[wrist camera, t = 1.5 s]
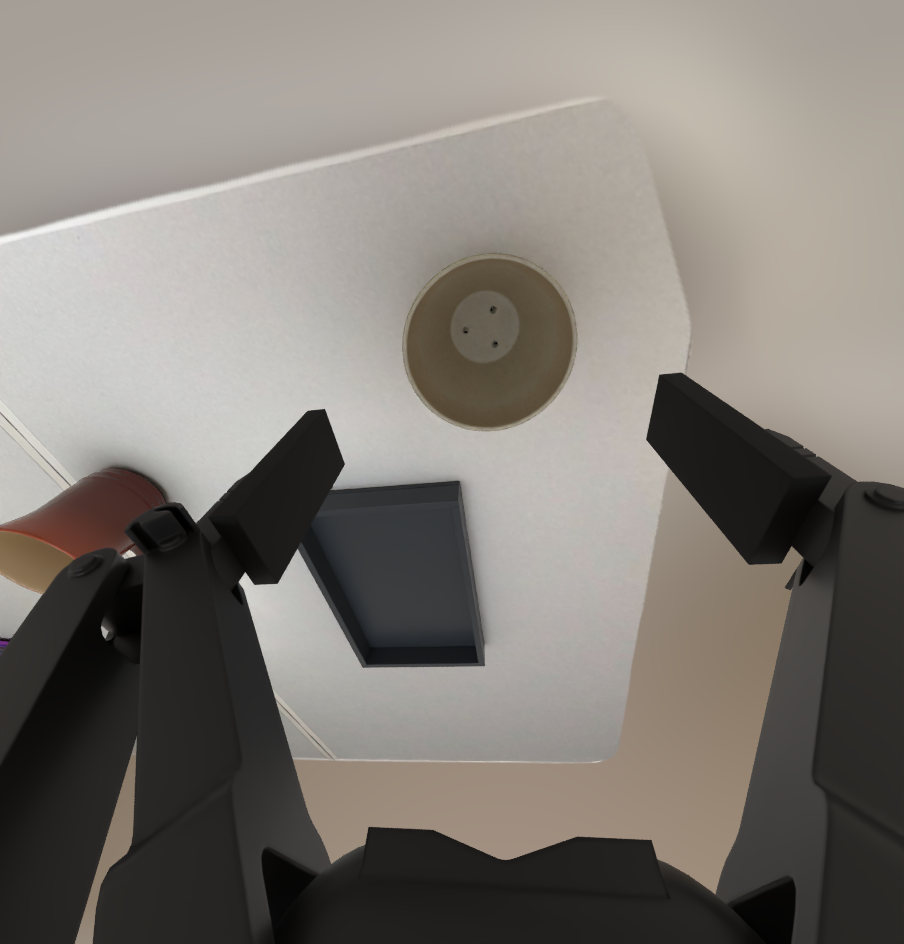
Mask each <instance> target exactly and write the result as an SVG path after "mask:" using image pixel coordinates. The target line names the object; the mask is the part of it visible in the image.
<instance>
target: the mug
mask: <svg viewBox="0 0 904 944" xmlns="http://www.w3.org/2000/svg"><path fill="white" fill-rule="evenodd" d="M164 504H166V502H165V499H164V497H163V495H162V493H161V492H160V490H159V489H158V488H157V487H156V486H155V485H154V484H153V483H152V482H150V481H149V480H148V479H146V478H144V477H143V476H141V475H139V474H136V473H134V472H131V471H127V470H123V469H116V468H109V469H104V470H101V471H99V472H96V473H93V474H91V475H89V476H88V477H85V478H82V479H81V480H79V481H78V482H77V483H76V484H74V485H73V486H71V487H69V488H68V489H66V490H65V491H63V492H62V493H60V494H59V495H57V496H56V497H55V498H53V499H52V500H50V501H49V502H48V503H46V504H45V505H43V506H42V507H40V508H38V509H37V510H35V511H33V512H31V513H29V514H27V515H25V516H23V517H20V518H18V519H15V520H12V521H10V522H7V523H4V524H1V525H0V574H1V575H3V576H4V577H6V578H7V579H9V580H11V581H13V582H14V583H16V584H18V585H20V586H23V587H25V588H27V589H30V590H32V591H35V592H38V593H40V594H43V593H44V592H45V591H46V589H47V588H48V586H49V585H50V584H51V582H52V581H53V579H54V578H55V577H56V575H57V574H58V573H59V572H60V571H61V570H62V569H63V568H64V567H66V566H67V565H69V564H70V563H71V562H72V561H73V560H74V559H76V558H78V557H79V558H80V556H81V555H84V554H86V553H90V552H92V551H95V550H98V549H102V548H114V549H115V550H116V551H117V552H118V553H119V554H120V555H121V556H123V555H124V554H125V553H126V552H127V551H128V550H131V551H132V552H133V553H134V554H135V555H136V556H138V555H142V554H143V552H142V551H141V550H140V549H139V548H138V547H137V546H136V545H135V544H134V542H133V541H132V540H131V539H130V538H129V537H128V536H127V535H126V533H125V532H124V531H125V529H126V527H127V525H128V524H129V523H130V522H131V521H133V520H134V519H135V518H136V517H138V516H139V515H141V514H143V513H144V512H146V511H148V510H150V509H152V508H155V507H157V506H161V505H164Z"/></svg>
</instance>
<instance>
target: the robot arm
mask: <svg viewBox="0 0 904 944" xmlns="http://www.w3.org/2000/svg"><path fill="white" fill-rule="evenodd" d="M646 440H647V441H648V442H649V444H650V445H651V446H652V447H653V449H654V450H655V451H656V452H657V453H658V455H659V456H660V457H661V458H662V459H663V461H664V462H665V463H666V464H667V466H668V467H669V468H670V469H671V470H672V472H673V473H674V474H675V475H676V477H677V478H678V479H679V480H680V481H681V482H682V484H683V485H684V486H685V487H686V489H687V490H688V491H689V492H690V494H691V495H692V496H693V497H694V498H695V500H696V501H697V502H698V503H699V505H700V506H701V507H702V508H703V509H704V511H705V512H706V513H707V514H708V516H709V517H710V518H711V519H712V520H713V522H714V523H715V524H716V525H717V526H718V528H719V529H720V530H721V531H722V533H723V534H724V535H725V536H726V537H727V539H728V540H729V541H730V542H731V543H732V545H733V546H734V547H735V548H736V550H737V551H738V552H739V553H740V555H741V556H742V557H743V558H744V559H745V561H746V562H747V563H748V564H749V565H754V564H779V563H782V562H783V560H784V558H785V556H786V555H787V553H788V551H789V550H790V548H791V546H792V547H793V548H795V550H797V552H798V553H799V554H800V555H801V556H802V557H803V559H802V561H801V562H800V564H799V566H798V567H797V569H796V571H795V572H794V574H793V575H792V577H791V579H790V580H789V582H788V583H787V585H786V587H785V588H786V589H789V590H791V589H792V588H793V589H792V593H791V598H790V602H789V607H788V611H787V616H786V620H785V625H784V630H783V634H782V639H781V643H780V648H779V652H778V657H777V661H776V666H775V670H774V675H773V679H772V684H771V688H770V694H769V698H768V702H767V707H766V711H765V716H764V720H763V725H762V730H761V734H760V739H759V743H758V748H757V752H756V757H755V761H754V766H753V770H752V775H751V780H750V784H749V788H748V793H747V798H746V802H745V807H744V811H743V816H742V820H741V825H740V828H739V832H738V835H737V838H736V841H735V843H734V845H733V847H732V849H731V851H730V853H729V855H728V857H727V859H726V861H725V865H724V867H723V870H722V872H721V876H720V880H719V883H718V887H717V891H716V895H715V894H714V893H713V892H711V891H710V890H709V889H707V888H706V887H704V886H703V885H702V884H700V883H699V882H697V881H696V880H695V879H693V878H692V877H690V876H689V875H687V874H685V873H684V872H682V871H680V870H678V869H676V868H675V867H673V866H671V865H669V864H667V863H665V862H662V861H660V860H658V859H657V858H656V854H655V851H654V847H653V844H652V840H635V839H615V838H594V837H575V838H572V839H569V840H566V841H563V842H560V843H557V844H555V845H552V846H549V847H546V848H543V849H540V850H537V851H534V852H532V853H528V854H525V855H523V856H520V857H517V858H514V859H510V860H501V859H497V858H495V857H493V856H491V855H488V854H486V853H484V852H482V851H479V850H477V849H475V848H473V847H470V846H468V845H466V844H464V843H461V842H459V841H457V840H454V839H452V838H450V837H448V836H445V835H443V834H441V833H439V832H436V831H434V830H422V829H401V828H380V827H369V828H368V834H367V839H366V844H365V845H364V846H361V847H358V848H357V849H355V850H353V851H351V852H349V853H347V854H345V855H343V856H342V857H341V858H339V859H338V860H336V861H335V862H334V863H332V864H331V862H330V860H329V856H328V853H327V851H326V849H325V846H324V844H323V842H322V839H321V837H320V835H319V834H318V832H317V830H316V828H315V826H314V825H313V823H312V821H311V819H310V816H309V814H308V811H307V808H306V804H305V801H304V797H303V794H302V791H301V787H300V783H299V780H298V776H297V773H296V770H295V766H294V763H293V759H292V756H291V752H290V749H289V745H288V742H287V738H286V735H285V731H284V728H283V724H282V721H281V717H280V714H279V710H278V707H277V703H276V700H275V696H274V693H273V690H272V686H271V683H270V679H269V676H268V672H267V669H266V665H265V662H264V658H263V655H262V651H261V648H260V644H259V641H258V637H257V634H256V630H255V627H254V623H253V620H252V617H251V613H250V610H249V606H248V603H247V599H246V596H245V592H244V589H243V588H242V587H241V585H240V584H239V580H240V579H241V577H242V576H243V574H244V573H245V572H246V573H247V575H248V576H249V578H250V579H251V581H252V582H253V584H254V585H261V584H278V582H279V580H280V579H281V577H282V575H283V573H284V571H285V570H286V568H287V566H288V564H289V563H290V561H291V559H292V557H293V555H294V554H295V552H296V550H297V548H298V547H299V545H300V543H301V541H302V540H303V538H304V536H305V534H306V532H307V531H308V529H309V527H310V525H311V524H312V522H313V520H314V518H315V516H316V515H317V513H318V511H319V509H320V508H321V506H322V504H323V502H324V500H325V499H326V497H327V495H328V493H329V492H330V490H331V488H332V486H333V484H334V483H335V481H336V479H337V477H338V476H339V474H340V472H341V470H342V468H343V467H344V465H345V463H344V461H343V458H342V455H341V452H340V450H339V447H338V444H337V441H336V438H335V436H334V433H333V430H332V427H331V424H330V422H329V419H328V416H327V413H326V411H325V409H321V410H311V411H307V412H306V413H305V414H304V415H303V416H302V417H301V419H300V420H299V421H298V422H297V423H296V424H295V425H294V426H293V427H292V428H291V429H290V430H289V431H288V432H287V433H286V434H285V436H284V437H283V438H282V439H281V440H280V441H279V442H278V443H277V444H276V445H275V446H274V447H273V448H272V449H271V450H270V452H269V453H268V454H267V455H266V456H265V457H264V458H263V459H262V460H261V461H260V462H259V463H258V464H257V465H256V466H255V468H254V469H253V470H252V471H251V472H250V473H249V474H247V475H245V476H244V477H242V478H241V479H239V480H238V481H236V482H235V483H234V485H233V486H232V487H231V488H230V489H229V490H228V491H227V493H225V494H224V495H223V496H222V497H221V498H220V499H219V500H220V501H217V502H216V503H215V504H214V505H213V506H212V507H211V509H210V510H209V511H208V512H207V513H206V514H205V515H204V516H203V517H202V518H201V519H200V520H199V521H198V522H197V523H195V522H194V520H193V519H192V518H191V516H190V515H189V513H188V512H187V511H186V509H185V508H184V506H183V505H182V504H181V503H168V504H164V505H161V506H157V507H155V508H152V509H150V510H148V511H146V512H144V513H143V514H141V515H139V516H138V517H136V518H135V519H134V520H133V521H131V522H130V523H129V524H128V525H127V527H126V529H125V531H124V532H125V533H126V535H127V536H128V537H129V538H130V539H131V540H132V541H133V542H134V544H135V545H136V546H137V547H138V548H139V549H140V550H141V551H142V552H143V554H142V555H138V556H134V557H131V558H127V559H124V558H123V557H122V556H121V555H120V554H119V553H118V552H117V551H116V550H115V549H114V548H102V549H98V550H95V551H92V552H90V553H86V554H84V555H81V556H80V558H79V557H78V558H76V559H74V560H73V561H72V562H71V563H70V564H69V565H67V566H66V567H64V568H63V569H62V570H61V571H60V572H59V573H58V574H57V575H56V577H55V578H54V579H53V581H52V582H51V584H50V585H49V586H48V588H47V589H46V591H45V592H44V593H43V595H42V596H41V598H40V599H39V601H38V602H37V603H36V605H35V606H34V608H33V609H32V610H31V612H30V613H29V615H28V616H27V617H26V619H25V620H24V622H23V623H22V624H21V626H20V627H19V629H18V630H17V632H16V633H15V634H14V636H13V637H12V639H11V640H10V641H9V643H8V644H7V646H6V647H5V648H4V650H3V651H2V653H1V654H0V944H75V940H76V937H77V934H78V930H79V927H80V924H81V920H82V917H83V913H84V910H85V907H86V904H87V900H88V897H89V894H90V890H91V887H92V884H93V880H94V877H95V874H96V870H97V867H98V864H99V860H100V857H101V854H102V850H103V847H104V844H105V840H106V837H107V833H108V830H109V827H110V823H111V820H112V817H113V813H114V810H115V807H116V803H117V800H118V797H119V793H120V790H121V787H122V783H123V780H124V777H125V773H126V770H127V767H128V763H129V760H130V756H131V753H132V750H133V747H134V743H135V740H136V737H137V751H136V777H135V801H134V803H135V804H134V826H133V838H132V844H131V846H130V849H129V851H128V853H127V854H126V855H125V856H124V857H122V858H121V859H120V860H119V861H118V862H116V863H115V864H114V865H113V866H112V867H110V869H109V871H108V872H107V874H106V876H105V878H104V880H103V882H102V884H101V887H100V892H99V897H98V902H97V907H96V915H95V925H94V937H93V944H904V488H901V487H898V486H895V485H891V484H885V483H879V482H857V481H856V480H854V479H852V478H851V477H849V476H848V475H846V474H845V473H843V472H842V471H840V470H839V469H837V468H836V467H834V466H833V465H831V464H830V463H828V462H826V461H825V460H823V459H822V458H820V457H816V454H814V453H813V452H811V451H810V450H808V449H807V448H805V449H804V448H803V446H802V445H801V444H799V443H797V442H796V441H794V440H793V439H791V438H790V437H788V436H785V435H783V434H780V433H777V432H775V431H772V430H770V429H763V428H762V427H760V426H759V425H757V424H756V423H754V422H753V421H752V420H750V419H749V418H747V417H746V416H744V415H743V414H741V413H740V412H738V411H737V410H735V409H734V408H732V407H731V406H729V405H728V404H727V403H725V402H723V401H722V400H721V399H719V398H718V397H716V396H715V395H713V394H712V393H711V392H709V391H708V390H706V389H705V388H703V387H702V386H700V385H699V384H697V383H696V382H694V381H693V380H691V379H690V378H689V377H687V376H686V375H684V374H683V373H672V374H663V375H659V379H658V384H657V389H656V394H655V399H654V404H653V409H652V414H651V418H650V423H649V428H648V433H647V438H646ZM101 625H102V626H103V627H104V628H105V629H106V630H108V631H109V632H108V634H107V637H106V639H105V638H104V637H103V635H102V631H101Z"/></svg>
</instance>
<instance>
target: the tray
mask: <svg viewBox="0 0 904 944" xmlns="http://www.w3.org/2000/svg"><path fill="white" fill-rule="evenodd" d="M298 550H299V552H300V554H301V556H302V557H303V559H304V561H305V563H306V565H307V567H308V568H309V570H310V572H311V574H312V576H313V577H314V579H315V581H316V583H317V585H318V587H319V588H320V590H321V592H322V594H323V596H324V598H325V599H326V601H327V603H328V605H329V607H330V609H331V610H332V612H333V614H334V616H335V618H336V620H337V621H338V623H339V625H340V627H341V629H342V631H343V632H344V634H345V636H346V638H347V640H348V641H349V643H350V645H351V647H352V649H353V651H354V652H355V654H356V656H357V658H358V660H359V662H360V663H361V665H362V667H363V668H368V667H454V666H485V652H484V639H483V633H482V626H481V619H480V613H479V606H478V600H477V593H476V586H475V580H474V573H473V567H472V560H471V553H470V547H469V540H468V534H467V527H466V520H465V514H464V507H463V501H462V494H461V487H460V482H459V481H454V482H441V483H428V484H415V485H402V486H389V487H376V488H363V489H350V490H337V491H330V492H329V493H328V495H327V497H326V499H325V500H324V502H323V504H322V506H321V508H320V509H319V511H318V513H317V515H316V516H315V518H314V520H313V522H312V524H311V525H310V527H309V529H308V531H307V532H306V534H305V536H304V538H303V540H302V541H301V543H300V545H299V547H298Z"/></svg>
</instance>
